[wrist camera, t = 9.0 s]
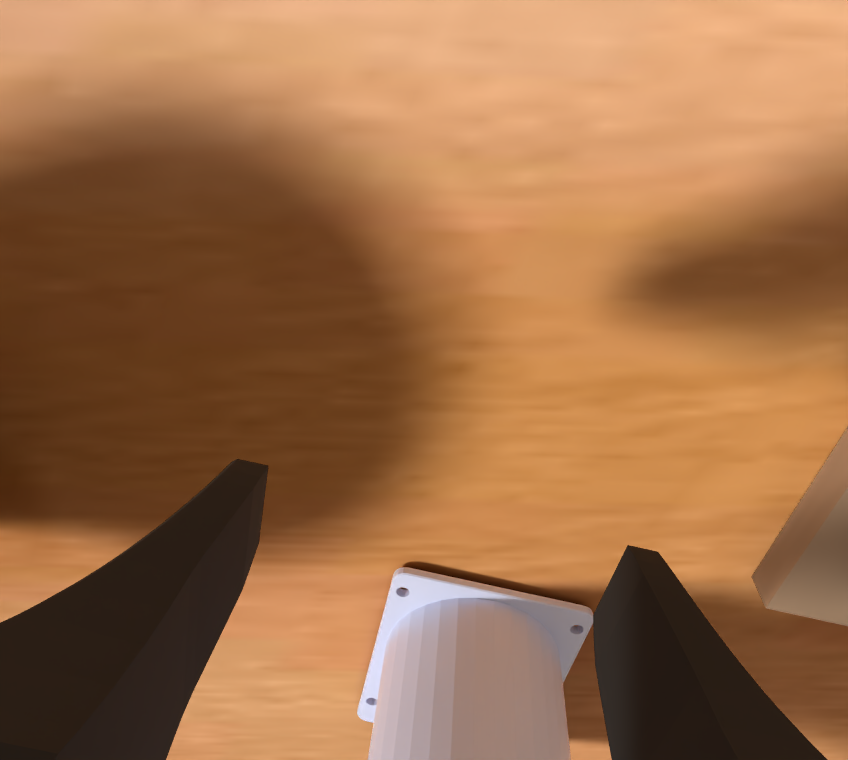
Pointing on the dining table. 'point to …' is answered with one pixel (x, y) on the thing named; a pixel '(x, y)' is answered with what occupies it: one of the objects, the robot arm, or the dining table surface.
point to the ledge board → (812, 549)
